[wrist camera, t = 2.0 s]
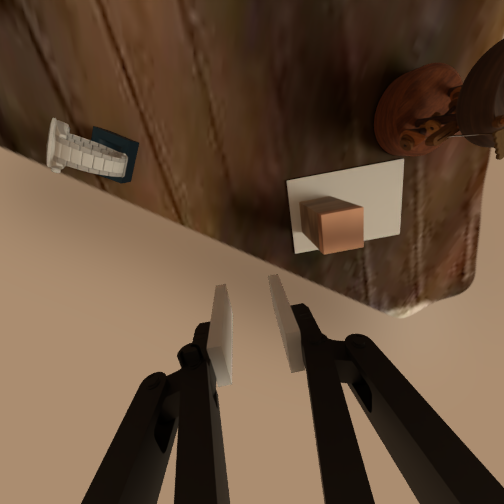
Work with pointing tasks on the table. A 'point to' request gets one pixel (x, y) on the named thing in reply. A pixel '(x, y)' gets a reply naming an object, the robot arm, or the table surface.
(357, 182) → the mat
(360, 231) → the walnut block
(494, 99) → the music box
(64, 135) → the watch
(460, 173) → the table surface
